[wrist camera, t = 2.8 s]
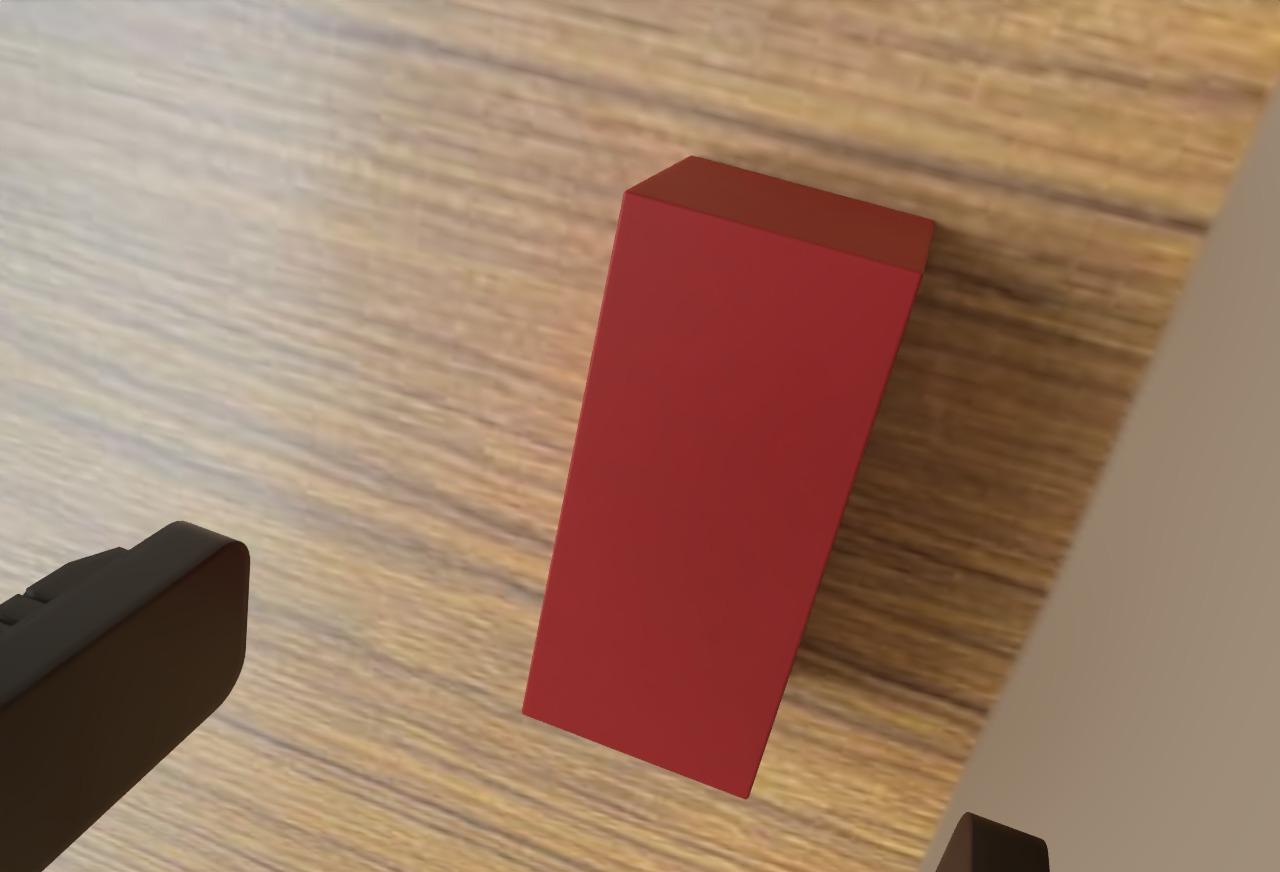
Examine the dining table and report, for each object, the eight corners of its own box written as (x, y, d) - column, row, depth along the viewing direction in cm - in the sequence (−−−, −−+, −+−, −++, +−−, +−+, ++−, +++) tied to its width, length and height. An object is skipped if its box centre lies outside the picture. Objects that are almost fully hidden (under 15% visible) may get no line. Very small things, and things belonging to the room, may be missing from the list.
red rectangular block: (689, 154, 17) (623, 190, 14) (936, 220, 16) (923, 273, 13) (589, 607, 21) (519, 714, 18) (784, 677, 20) (747, 801, 17)
